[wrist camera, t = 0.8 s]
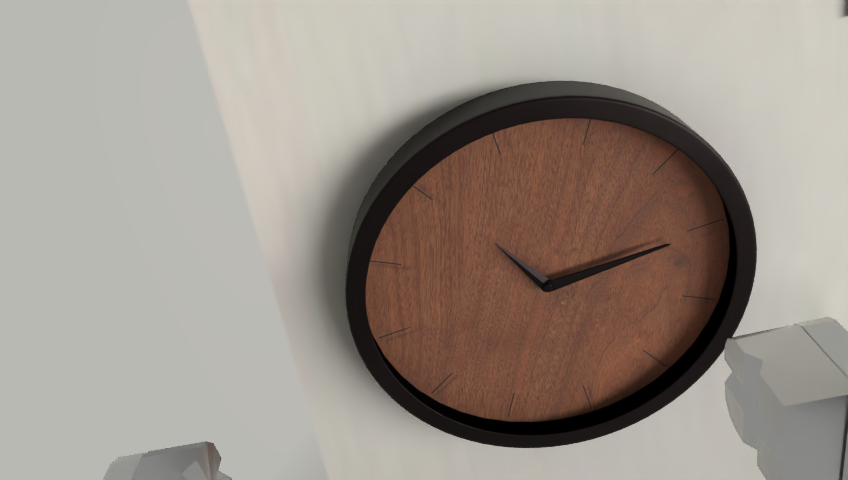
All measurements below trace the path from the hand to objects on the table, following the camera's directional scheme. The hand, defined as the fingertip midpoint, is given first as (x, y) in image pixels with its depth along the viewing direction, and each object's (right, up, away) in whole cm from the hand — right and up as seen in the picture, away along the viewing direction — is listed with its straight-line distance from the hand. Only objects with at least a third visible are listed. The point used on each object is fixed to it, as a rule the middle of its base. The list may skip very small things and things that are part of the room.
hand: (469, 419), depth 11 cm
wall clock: (+9, 0, +46) cm, 47 cm away
